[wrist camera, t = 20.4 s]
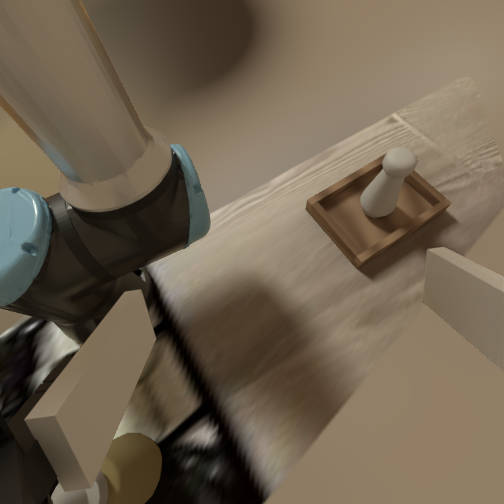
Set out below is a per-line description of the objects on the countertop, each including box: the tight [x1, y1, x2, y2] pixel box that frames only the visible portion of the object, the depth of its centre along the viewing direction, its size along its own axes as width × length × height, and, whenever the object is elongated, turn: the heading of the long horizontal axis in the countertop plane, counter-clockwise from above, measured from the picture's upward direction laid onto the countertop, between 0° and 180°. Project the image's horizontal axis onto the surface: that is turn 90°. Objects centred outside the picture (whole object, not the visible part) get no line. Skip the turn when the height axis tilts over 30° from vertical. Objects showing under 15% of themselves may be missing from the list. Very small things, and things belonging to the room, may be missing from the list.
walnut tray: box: [306, 153, 451, 269], centre depth 51 cm, size 19×14×3 cm
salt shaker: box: [360, 147, 418, 219], centre depth 45 cm, size 6×6×13 cm
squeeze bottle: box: [51, 433, 162, 504], centre depth 31 cm, size 8×8×18 cm
